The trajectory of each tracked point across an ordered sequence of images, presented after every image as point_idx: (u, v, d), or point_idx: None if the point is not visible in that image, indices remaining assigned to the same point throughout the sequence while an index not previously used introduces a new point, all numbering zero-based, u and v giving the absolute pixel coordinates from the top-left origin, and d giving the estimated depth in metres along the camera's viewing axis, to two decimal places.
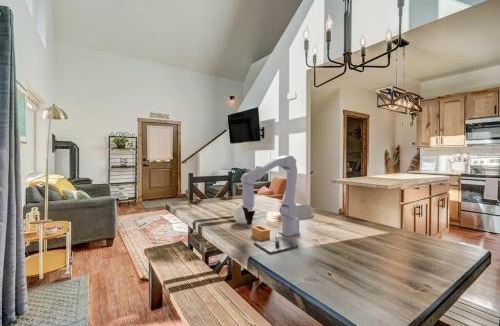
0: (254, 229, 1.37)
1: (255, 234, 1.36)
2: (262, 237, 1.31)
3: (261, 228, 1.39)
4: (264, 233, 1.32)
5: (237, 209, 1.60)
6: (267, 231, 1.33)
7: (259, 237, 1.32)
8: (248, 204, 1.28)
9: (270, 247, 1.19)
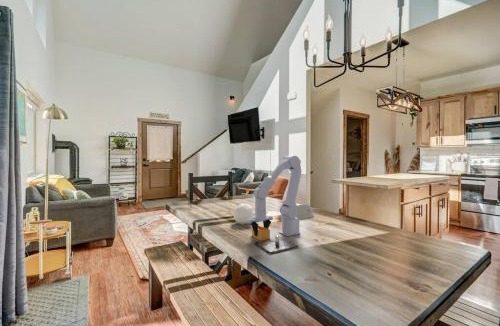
0: None
1: None
2: (262, 237, 1.31)
3: (261, 228, 1.39)
4: (264, 233, 1.32)
5: (237, 209, 1.60)
6: (267, 231, 1.33)
7: (259, 237, 1.32)
8: (255, 217, 1.35)
9: (270, 247, 1.19)
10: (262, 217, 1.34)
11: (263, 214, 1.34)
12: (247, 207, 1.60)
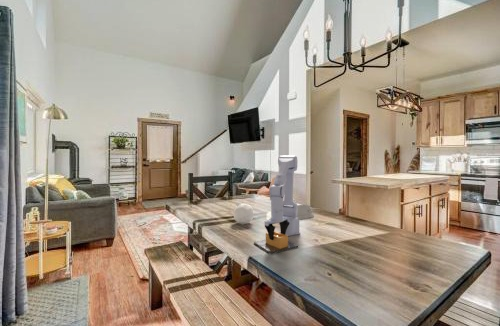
0: None
1: (271, 241, 1.22)
2: (281, 244, 1.18)
3: (276, 234, 1.25)
4: (282, 240, 1.18)
5: (237, 209, 1.60)
6: (285, 237, 1.19)
7: (277, 244, 1.19)
8: (272, 218, 1.20)
9: (270, 247, 1.19)
10: (280, 218, 1.19)
11: (281, 215, 1.20)
12: (247, 207, 1.60)
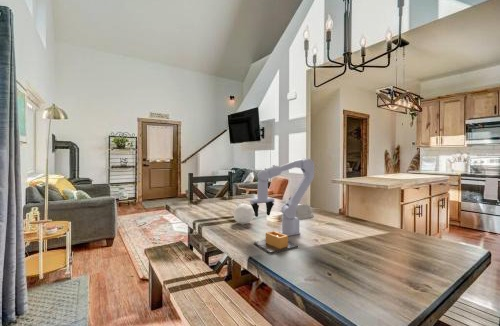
0: (269, 236, 1.23)
1: (271, 241, 1.22)
2: (281, 244, 1.18)
3: (276, 234, 1.25)
4: (282, 240, 1.18)
5: (237, 209, 1.60)
6: (285, 237, 1.19)
7: (277, 244, 1.19)
8: (258, 198, 1.40)
9: (270, 247, 1.19)
10: (264, 198, 1.39)
11: (265, 195, 1.39)
12: (247, 207, 1.60)
